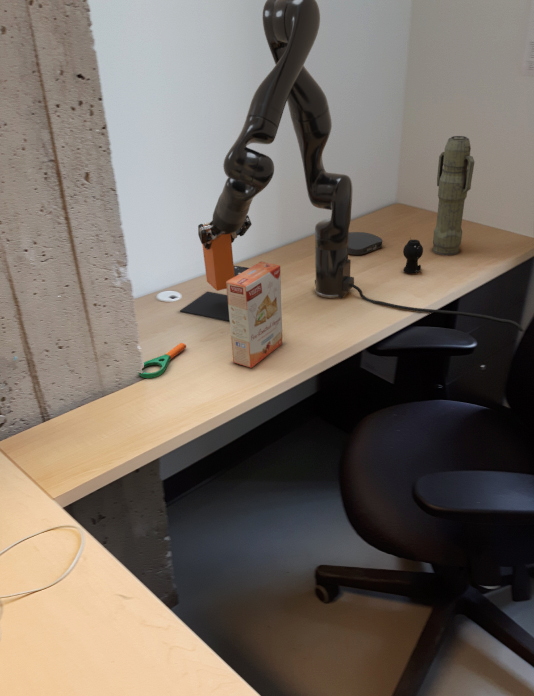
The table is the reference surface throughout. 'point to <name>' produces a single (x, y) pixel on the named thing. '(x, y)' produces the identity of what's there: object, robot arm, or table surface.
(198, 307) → the desk mat
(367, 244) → the media streaming box
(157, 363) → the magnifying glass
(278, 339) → the cracker box
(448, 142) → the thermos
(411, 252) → the gumball machine
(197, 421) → the table surface
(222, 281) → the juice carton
